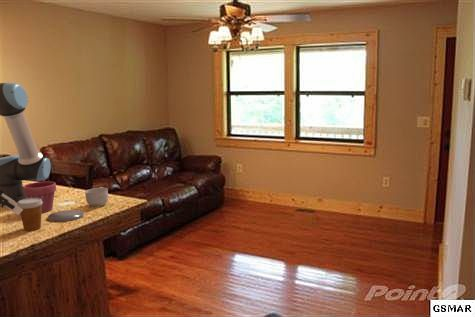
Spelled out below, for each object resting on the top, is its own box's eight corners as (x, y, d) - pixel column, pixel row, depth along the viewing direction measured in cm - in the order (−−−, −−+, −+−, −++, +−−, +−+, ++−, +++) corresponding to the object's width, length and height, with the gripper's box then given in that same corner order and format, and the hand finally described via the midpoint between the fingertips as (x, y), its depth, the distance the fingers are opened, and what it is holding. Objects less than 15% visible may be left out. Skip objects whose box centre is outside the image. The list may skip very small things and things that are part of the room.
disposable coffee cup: (25, 225, 179) (22, 198, 177) (48, 224, 180) (46, 197, 178) (15, 232, 170) (12, 204, 168) (40, 231, 171) (37, 203, 169)
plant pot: (27, 208, 205) (24, 182, 203) (58, 205, 210) (56, 180, 208) (23, 216, 192) (21, 188, 190) (57, 212, 197) (54, 186, 195)
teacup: (101, 208, 203) (100, 192, 202) (81, 207, 205) (80, 191, 204) (115, 201, 216) (114, 186, 215) (96, 200, 219) (95, 185, 217)
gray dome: (50, 213, 196) (50, 211, 195) (84, 210, 200) (84, 208, 200) (45, 223, 181) (45, 221, 181) (82, 219, 186) (82, 217, 186)
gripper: (-41, 179, 167) (5, 209, 178) (-36, 190, 147) (16, 223, 159) (-27, 164, 169) (18, 195, 181) (-20, 174, 150) (30, 207, 161)
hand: (17, 208), depth 170 cm, fingers open, 13 cm apart
